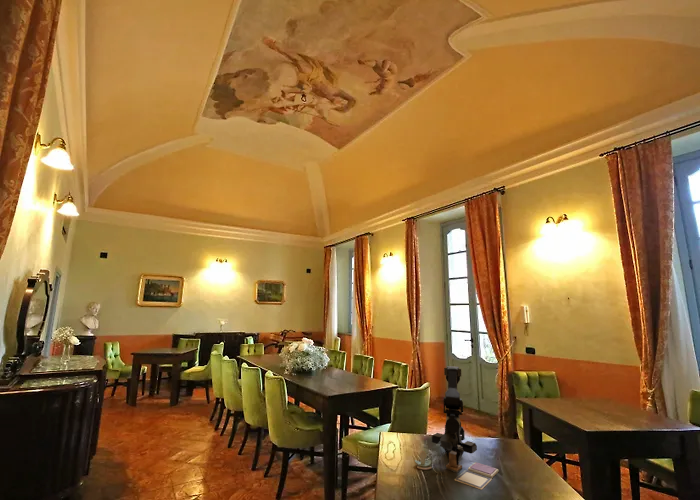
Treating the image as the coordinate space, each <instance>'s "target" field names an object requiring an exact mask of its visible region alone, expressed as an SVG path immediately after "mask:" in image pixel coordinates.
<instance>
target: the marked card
mask: <svg viewBox="0 0 700 500" xmlns="http://www.w3.org/2000/svg"><path fill="white" fill-rule="evenodd" d="M454 481H455V482H459V483H461V484H464V485H467V486H469V487H472V488H475V489H478V490H481V491H482V490H484V488H486V486H487V485H488V484H490V482H491V481H492V478H490V477H487V476H484V475H481V474H478V473H475V472H472V471H469V470H465V469H464V471H462V472H461V474H459V475H458V476H456V478H454Z"/></svg>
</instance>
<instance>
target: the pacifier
mask: <svg viewBox="0 0 700 500" xmlns="http://www.w3.org/2000/svg"><path fill="white" fill-rule="evenodd" d="M419 458H420V461H419V460H416V459H415V460H414V462H415V463H416V464H417V466H416V467H417V469H419V470H423V471H425V470H431V469H432V468H433V467H432V466H431V465H432V460H431V459H428V460H427V453H426V451H424V450H421V451H420V452H419Z"/></svg>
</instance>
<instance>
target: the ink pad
mask: <svg viewBox="0 0 700 500" xmlns="http://www.w3.org/2000/svg"><path fill="white" fill-rule="evenodd" d="M467 471H470V472H473V473H476V474H479V475H482V476H485V477H488V478H491V479H492V478H494V476H496V475H497V474H498V473H499V469H498V468H495V467H493V466H489V465H486V464H483V463H479V462H476V461H475V462H474V463H472V464H471V465H470V466H469V467H468V468H467Z"/></svg>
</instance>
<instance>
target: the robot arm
mask: <svg viewBox="0 0 700 500" xmlns="http://www.w3.org/2000/svg"><path fill="white" fill-rule="evenodd" d="M443 370H444V371H443V372H444V374H443V376H445V379H446V381H447V383H448V384H447V390H446V391H445V393H444V395H445V396H444V397H443V414H445V425H444V433H439V432H436V433H434V434H432V436H431V439H430V440H431V443H434V444H439V443H440V446H439V447H440V448H441V447H442V449H444V452H445V454H446V457H447V460H448V461H449V452H451V451H454V452H456V453H457V458H456V463H457V465H459V464H460V462H461V459H462V456H463V454H464V453H467V454H473V453H474V452H476V451H477V450H478V446H477V444H476V442H472V441H470V440H469V441H468V440H467V441H465V442H463V441H464V440H465V439H466V438H465V428H464V427H463V426H462V422H461V417H460V416H462V415H463V413H464V401H463V400H462V398H460V397H461V395H460V392H459V391H458V384H459V383H460V381H461V378H462V368H459V366H452V365H451V366H450V365H449V366H448V365H447V366H446V367H444V369H443Z"/></svg>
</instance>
